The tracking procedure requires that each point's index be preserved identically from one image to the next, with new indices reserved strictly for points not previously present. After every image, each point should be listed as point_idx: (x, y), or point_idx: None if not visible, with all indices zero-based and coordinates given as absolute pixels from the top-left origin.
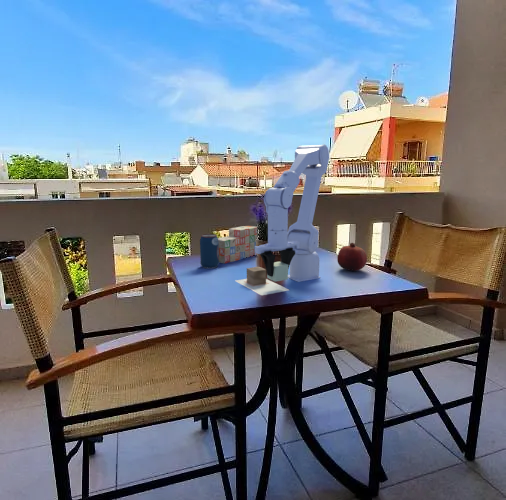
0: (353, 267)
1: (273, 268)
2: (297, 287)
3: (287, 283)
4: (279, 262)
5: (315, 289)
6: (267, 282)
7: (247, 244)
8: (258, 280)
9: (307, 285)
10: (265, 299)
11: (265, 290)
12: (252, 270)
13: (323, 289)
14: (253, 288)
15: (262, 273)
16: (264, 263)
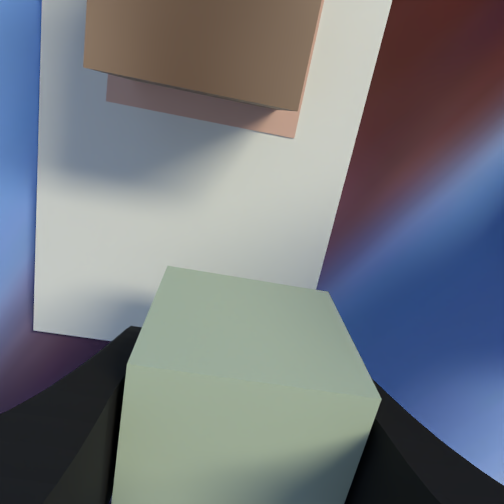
0: None
1: (110, 492)
2: (407, 332)
3: (442, 211)
4: (328, 436)
5: (452, 429)
6: (310, 93)
7: None
8: (184, 90)
9: (498, 344)
10: (34, 375)
11: (136, 261)
12: (101, 2)
13: (486, 455)
14: (79, 151)
15: (236, 99)
16: (34, 398)
